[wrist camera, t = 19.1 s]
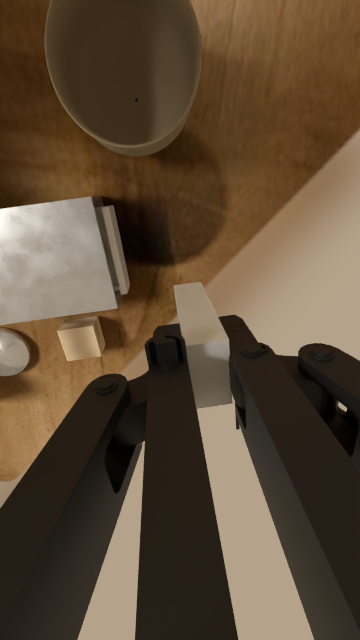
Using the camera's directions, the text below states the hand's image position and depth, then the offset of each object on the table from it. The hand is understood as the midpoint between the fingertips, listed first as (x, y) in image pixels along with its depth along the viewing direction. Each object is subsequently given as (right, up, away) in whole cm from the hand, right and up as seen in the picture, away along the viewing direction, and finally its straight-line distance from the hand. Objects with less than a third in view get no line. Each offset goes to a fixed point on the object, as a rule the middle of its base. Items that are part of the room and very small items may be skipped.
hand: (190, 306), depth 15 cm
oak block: (-15, -3, +27) cm, 31 cm away
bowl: (-6, +24, +16) cm, 29 cm away
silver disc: (-28, -5, +28) cm, 40 cm away
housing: (-17, +8, +22) cm, 29 cm away
